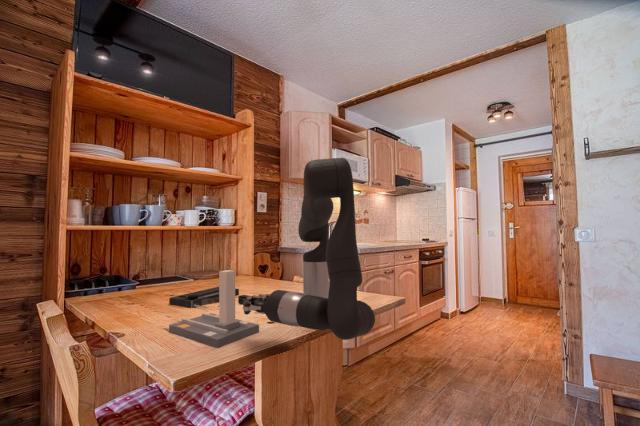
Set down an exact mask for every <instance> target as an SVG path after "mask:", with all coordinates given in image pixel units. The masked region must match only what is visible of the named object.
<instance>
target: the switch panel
mask: <svg viewBox="0 0 640 426" xmlns="http://www.w3.org/2000/svg"><path fill="white" fill-rule="evenodd" d="M235 320H237V321H239V327H237V328H234V329H231V330H226V329H222V328H219V327H215V323H218V322H219V314H215V313H211V312H210V313H205V312H203V313H201V315H200V316H196V317H193V318H189V319H188V318H185V317H184V318H181V321H179V322H175V323H170V324H169V325H168V332H169V333H171V334H175V335H178V336H180V337H184V338H186V339H190V340H192V341H196V342H197V343H198V342H199V343H202V344H204V345H206V346H207V345H208V346H210V347H213V348H217V349H218V348H220V347H223V346H225V345H228V344H230V343H233V342H236V341H238V340H241V339H243V338H246V337H249V336H251V335H254V334H257V333H259V332H260V324H258V323H254V322H249V321H246V320H241V319H237V318H235Z"/></svg>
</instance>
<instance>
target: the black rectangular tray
mask: <svg viewBox="0 0 640 426" xmlns="http://www.w3.org/2000/svg"><path fill="white" fill-rule="evenodd" d="M236 296H237V297H238V296H240V289H239V288H235V297H236ZM168 299H169V300H168V305H170V306H175V307H181V308H186V309H187V308H188V309H193V308H197V307H199V308H203V309H205V308H206V309H207V308H208V306H206V305H210V304H213V303H214V304H216V303H219V286H215V287H211V288H206V289H203V290H197V291H193V292H190V293H184V294H181V295H175V296H170V297H168Z"/></svg>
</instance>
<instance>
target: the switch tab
mask: <svg viewBox="0 0 640 426" xmlns="http://www.w3.org/2000/svg"><path fill="white" fill-rule="evenodd" d="M218 274H219V275H218V276H219V277H218V279H219V280H218V285H219V286H218V287H219V302H218V308H219V309H218V311H219V312H218V315H219V322H218V323H215V327H219V328H222V329H226V330H231V329H234V328H237V327H239V321H237V320H235V319H236V296H235V289H236V270H234V269H233V270H230V269H226V270H219V273H218Z"/></svg>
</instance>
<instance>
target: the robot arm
mask: <svg viewBox="0 0 640 426" xmlns="http://www.w3.org/2000/svg"><path fill="white" fill-rule="evenodd" d="M303 169H304V171H303V198H302V204H301V209H300V210H301V213H300V214H301V215H300V218H299V223H298V229H297V230H298V236H299V238H300V240H301V241H302V242H304V243H319V244H318V246H316V247H315V248H313V249H311V250H309V251H306V252H304V253H303V254H302V272H303V273H302V275H303V276H302V280H303V281H302V283H303V285H302V286H303V291H302V292H303V293H302V292H298V291H297V292H296V291H290V290H282V289H275V290H273V291H272V292H271V293H270V294H269V293H267V294H266V293H265V294H264V293H263V294H262V293H261V294H258V295H255V294H253V295H247V294H242V295H240V294H239V295H237V297H238V298H237V299H238V300H237V302H238V305H242V309H243V313H244V315H249V314H251V313H252V311H254V312H256V313H259V314H261V315H265V316H266V317H267V319H268V320H269V321H270V322H272V323H275V324H276V323H277V324H281V325H285V326H291V327H295V328H296V327H297V328H299V327H300V328H305V329H310V330H316V331H325V330H331V332H332V333H333V334H334V335H335V336H336V337H337V338H338V339H340V340H344V341H348V340H351V339H352V340H353V339H355V338H358V337H361V336H362V337H363V336H365V335H366V334H368V333H369V332H371V331H372V329H374V327H375V323H376V315H375V311H374V310H373V308H372V307H371V306H370V305H369V303H368V304H367V303H366V302H365V301H361V300H358V287H360V286H361V285H362V283H363V274H362V267H361V263H360V256H359V251H358V245H357V243H358V242H357V232H356V231H357V229H356V206H355V204H356V203H355V191H354V179H353V172H352V166H351V164H350V162H349V161H348V159H346V158H344V157H334V158H321V159H320V158H319V159H318V158H317V159H313V160H310V161H308V162H307V163H306V164H305V166H304V168H303ZM335 198H336V199H337V198H338V199H339V203H340V205H339V207H340V208H339V213H338V217H337V219H336V221H335V224H334V226H333V228H332V230H331V233H330V234H329V232H330V228H329V227H330V225H329V221H330V219H331V217H332V215H333V211H334V201H333V200H332V199H335Z"/></svg>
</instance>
